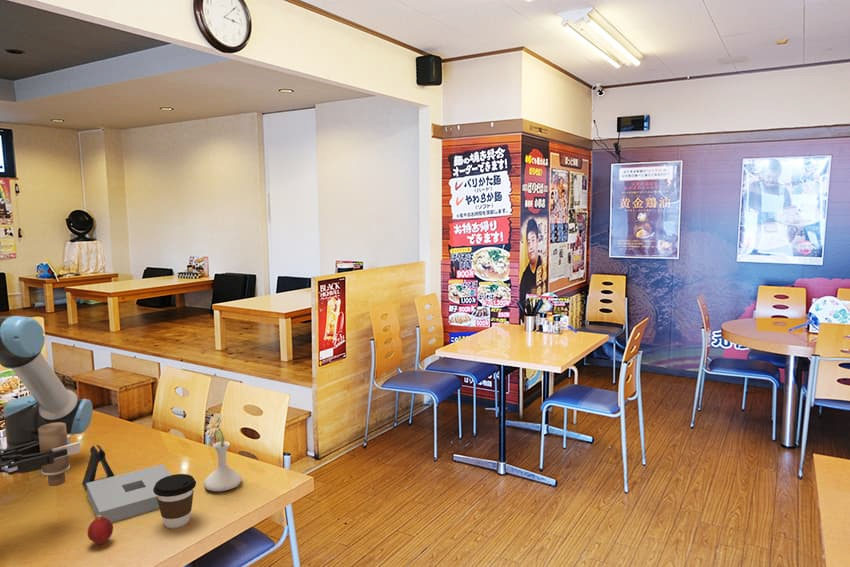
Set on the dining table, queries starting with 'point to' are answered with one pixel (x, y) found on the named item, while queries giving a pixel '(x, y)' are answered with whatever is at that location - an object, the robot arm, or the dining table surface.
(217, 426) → the flower in vase
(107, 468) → the phone stand
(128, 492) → the slate board
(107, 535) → the onion
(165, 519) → the coffee cup
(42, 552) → the dining table surface
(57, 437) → the walnut peg
